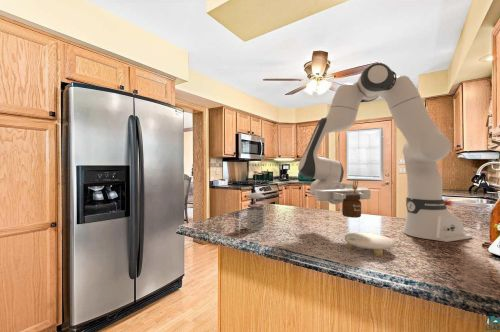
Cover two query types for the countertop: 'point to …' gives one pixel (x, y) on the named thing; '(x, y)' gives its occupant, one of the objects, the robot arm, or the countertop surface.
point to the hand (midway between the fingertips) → (353, 196)
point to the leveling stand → (368, 242)
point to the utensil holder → (352, 204)
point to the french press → (256, 212)
